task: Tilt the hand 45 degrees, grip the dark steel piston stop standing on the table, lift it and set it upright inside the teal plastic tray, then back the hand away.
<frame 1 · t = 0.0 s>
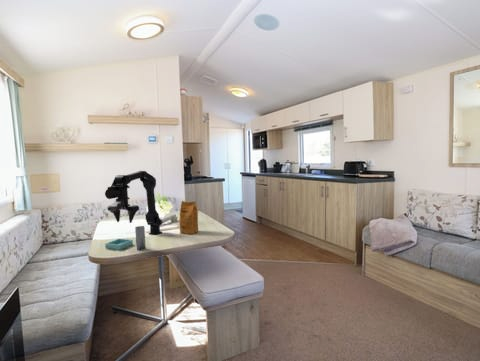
hand: (124, 222, 168), 15 cm above the table, tool pointing down, fingers open, 9 cm apart
coffee package: (189, 232, 196), on the table
tray: (119, 246, 169), on the table
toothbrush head: (164, 224, 222), on the table
piston stop: (141, 249, 163), on the table
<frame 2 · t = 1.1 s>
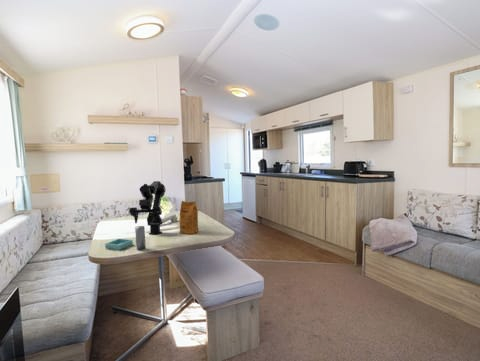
hand: (143, 223, 170), 13 cm above the table, tool tilted 45°, fingers open, 9 cm apart
nothing on the table moved.
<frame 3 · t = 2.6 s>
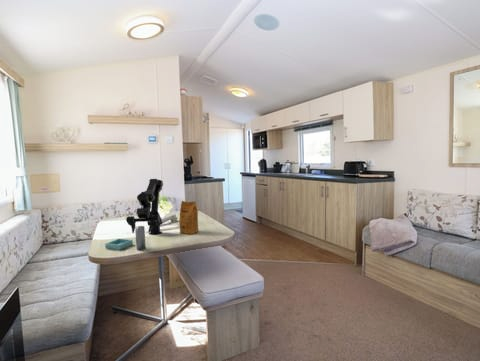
hand: (140, 232, 164), 9 cm above the table, tool tilted 45°, fingers open, 9 cm apart
nothing on the table moved.
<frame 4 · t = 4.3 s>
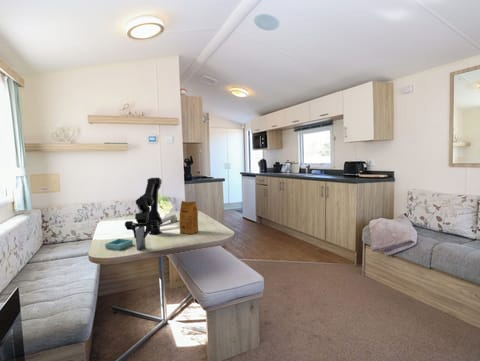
hand: (139, 237, 161), 7 cm above the table, tool tilted 45°, fingers closed on piston stop, 5 cm apart
piston stop: (141, 249, 163), on the table, touching gripper
everything else where it was.
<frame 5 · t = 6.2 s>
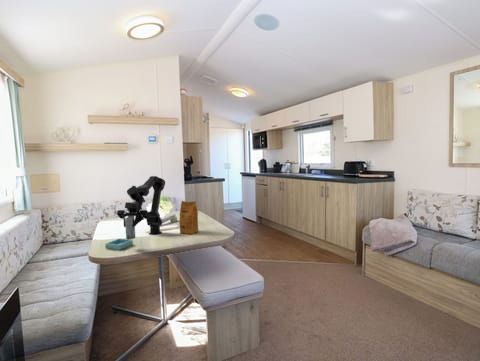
hand: (128, 226, 162), 13 cm above the table, tool tilted 45°, fingers closed on piston stop, 5 cm apart
piston stop: (130, 238, 164), point 6 cm above the table, touching gripper
everything else where it was.
when the fingers open (9 cm above the table, at t = 8.4 s): piston stop drops 1 cm, resting on tray.
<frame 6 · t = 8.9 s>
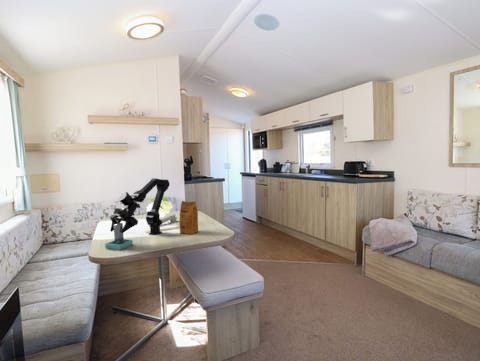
hand: (116, 232, 167), 9 cm above the table, tool tilted 45°, fingers open, 9 cm apart
piston stop: (119, 245, 169), point 1 cm above the table, touching tray
everything else where it was.
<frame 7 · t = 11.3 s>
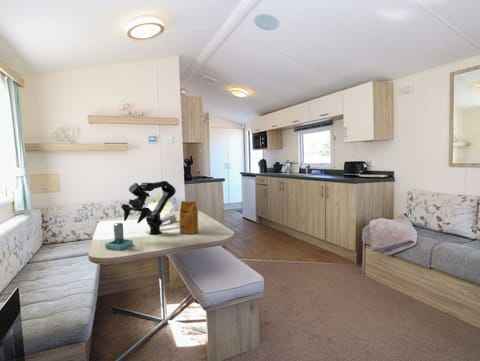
hand: (131, 221, 175), 13 cm above the table, tool tilted 40°, fingers open, 9 cm apart
nothing on the table moved.
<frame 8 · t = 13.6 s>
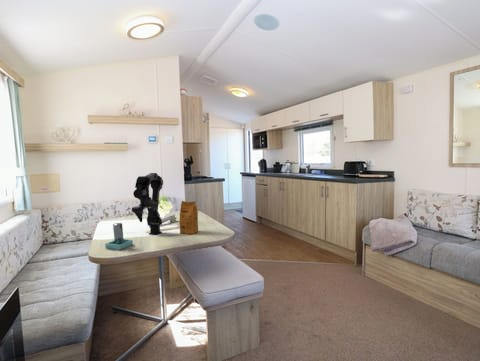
hand: (146, 220, 179), 13 cm above the table, tool pointing down, fingers open, 9 cm apart
at the end: piston stop 0.1 cm off-centre on the tray, point 0.9 cm above the tray's base; piston stop tilted 1°; the gripper is holding nothing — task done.
